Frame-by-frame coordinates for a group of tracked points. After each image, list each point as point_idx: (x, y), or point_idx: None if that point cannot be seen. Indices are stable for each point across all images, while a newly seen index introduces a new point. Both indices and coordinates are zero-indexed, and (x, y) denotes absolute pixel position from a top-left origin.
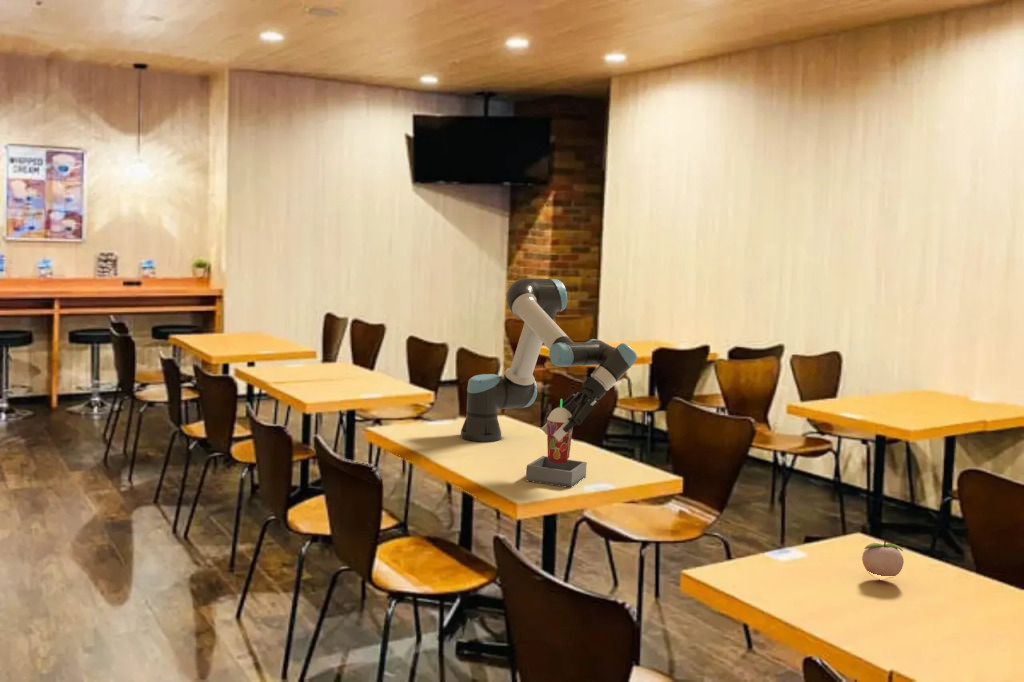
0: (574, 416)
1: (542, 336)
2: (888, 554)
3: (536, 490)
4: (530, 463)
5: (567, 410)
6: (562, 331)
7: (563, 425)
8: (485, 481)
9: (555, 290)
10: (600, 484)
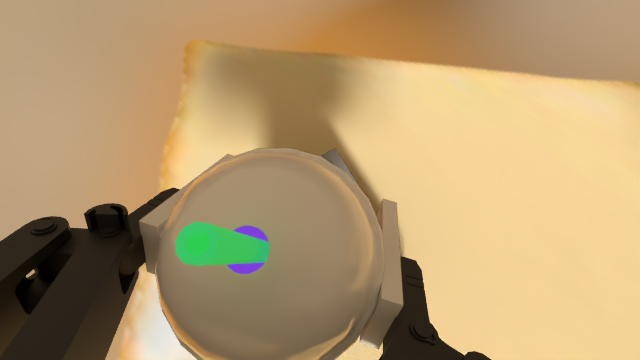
0: (68, 270)
1: None
2: None
3: (250, 133)
4: (349, 174)
5: (181, 298)
6: None
7: (178, 192)
8: (376, 78)
9: None
10: None
